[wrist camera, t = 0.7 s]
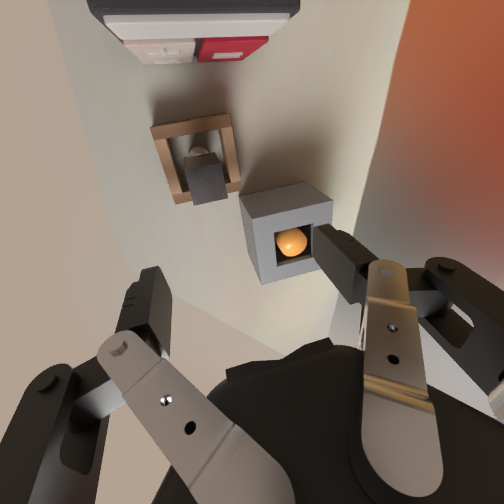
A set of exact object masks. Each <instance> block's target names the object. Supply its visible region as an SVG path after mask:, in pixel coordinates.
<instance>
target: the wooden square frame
mask: <svg viewBox="0 0 504 504" xmlns="http://www.w3.org/2000/svg"><path fill="white" fill-rule="evenodd" d="M216 129H218V130H219V135H220V140H221V146H222V151H223V156H224V161H225V166H226V172H227V177H224V181H225V186H226V191H227V193H231V192H236V191H240V190H242V187H241V180H240V174H239V168H238V162H237V156H236V150H235V143H234V137H233V131H232V125H231V119H230V114H228V113H223V114H217V115H211V116H205V117H200V118H194V119H188V120H182V121H176V122H171V123H165V124H159V125H153V126H152V127H150V130H151V133H152V136H153V139H154V142H155V145H156V148H157V151H158V154H159V157H160V160H161V163H162V166H163V169H164V172H165V175H166V178H167V181H168V184H169V187H170V190H171V193H172V196H173V199H174V202H175V204H180V203H184V202H189V201H193V200H192V197H191V193H190V190H189V187H188V185H183V186H182V183H181V179H180V176H179V173H178V170H177V166H176V163H175V160H174V156H173V153H172V150H171V146H170V143H169V140H168V138H171V137H177V136H182V135H188V134H194V133H199V132H205V131H210V130H216Z"/></svg>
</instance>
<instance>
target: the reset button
mask: <svg viewBox="0 0 504 504" xmlns="http://www.w3.org/2000/svg"><path fill="white" fill-rule="evenodd" d="M274 241H275V242H276V244H277V245H278V247H279V248H280V250H281V251H282V253H283V254H284V255H286V256H296V255H298V254H300V253H301V252H302V251H303V250H304V249H305V247H306V245H307V238H306V236H305V235H304V234H303V233H302V232H301V231H300V229H299V228H298V227H295V228H291V229H287V230H283V231H279V232H275V233H274Z"/></svg>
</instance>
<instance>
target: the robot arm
mask: <svg viewBox="0 0 504 504" xmlns="http://www.w3.org/2000/svg"><path fill="white" fill-rule="evenodd" d="M313 256H314V259H315V261H316V263H317V264H318V265H319V266H320V268H321V269H322V270H323V271H324V273H325V274H326V275H327V276H328V278H329V279H330V280H331V281H332V283H333V284H334V285H335V287H336V288H337V289H338V290H339V292H340V293H341V294H342V295H343V297H344V298H345V299H346V300H347V302H348V303H349V304H350V305H351V304H354V303H357V302H359V303H360V304H361V311H360V323H359V334H358V344H357V348H353V347H350V346H345V345H333V343H332V342H331V340H330V338H329V337H328V338H325V339H322V340H318V341H315V342H312V343H309V344H306V345H303V346H302V347H300V348H299V349H297V350H296V351H294V352H292V353H291V354H289V355H288V356H286V357H284V358H283V359H280V360H267V361H251V362H248V363H245V364H242V365H238V366H235V367H232V368H229V369H226V377H227V378H226V379H225V380H223V381H222V382H221V383H219V384H218V385H217V386H216V387H215V388H214V389H213V390H212V391H211V392H210V393H209V395H208V396H207V397H205V396H204V395H203V394H202V393H201V392H200V391H199V390H198V389H197V388H196V387H195V386H194V385H193V384H192V383H190V382H189V381H188V380H187V379H186V378H185V377H184V376H183V375H182V374H181V373H180V372H179V371H178V370H177V369H176V368H175V367H174V366H173V365H171V363H169V362H168V361H167V360H166V359H167V358H169V357H170V338H171V336H170V335H171V315H172V294H171V291H170V288H169V286H168V284H167V281H166V279H165V277H164V275H163V273H162V271H161V269H160V267H159V266H155V267H151V268H147V269H143V270H142V271H141V274H140V279H139V281H137V282H134V283H133V284H132V285H131V286H130V288H129V289H128V290H127V292H126V295H125V299H124V302H123V306H122V309H121V313H120V316H119V320H118V324H117V327H116V331H115V334H114V335H112V336H111V337H109V338H108V339H107V340H106V341H105V342H104V343H103V344H102V345H101V347H100V348H99V350H98V353H97V356H96V357H94V358H92V359H90V360H88V361H86V362H85V363H83V364H81V365H79V366H77V367H76V368H74V369H72V368H71V367H70V366H69V365H67V364H57V365H54V366H51V367H49V368H48V369H46V370H44V371H43V372H42V373H40V374H39V375H38V376H37V377H36V378H35V379H34V380H33V381H32V382H31V383H30V384H29V385H28V387H27V389H26V390H25V392H24V394H23V397H22V399H21V400H20V403H19V405H18V407H17V409H16V411H15V413H14V415H13V417H12V420H11V422H10V424H9V426H8V428H7V430H6V432H5V434H4V437H3V439H2V441H1V443H0V504H95V499H96V493H97V487H98V481H99V475H100V470H101V463H102V457H103V452H104V446H105V440H106V434H107V428H108V423H109V417H110V413H112V412H113V411H115V410H116V409H118V408H119V407H121V406H123V405H124V404H126V403H127V404H128V406H129V407H130V408H131V410H132V411H133V412H134V414H135V415H136V416H137V418H138V419H139V421H140V422H141V423H142V425H143V426H144V428H145V429H146V430H147V432H148V433H149V434H150V436H151V437H152V438H153V440H154V441H155V443H156V444H157V445H158V447H159V448H160V449H161V451H162V452H163V453H164V455H165V456H166V458H167V459H168V460H169V462H170V463H171V466H170V468H169V470H168V472H167V474H166V476H165V478H164V480H163V482H162V484H161V486H160V488H159V490H158V492H157V494H156V496H155V498H154V500H153V501H152V503H151V504H504V291H502V290H501V289H499V288H498V287H496V286H495V285H493V284H492V283H490V282H489V281H487V280H486V279H484V278H483V277H481V276H480V275H478V274H477V273H475V272H474V271H472V270H471V269H469V268H468V267H466V266H465V265H463V264H462V263H460V262H458V261H456V260H453V259H449V258H445V257H434V258H430V259H428V260H427V261H426V263H425V266H424V268H404V267H403V266H402V265H401V264H399V263H397V262H395V261H392V260H387V259H379V258H377V257H376V256H375V255H374V254H372V252H370V251H369V250H368V249H367V248H366V247H364V246H363V245H361V243H360V242H358V241H357V240H356V239H355V238H354V237H352V236H351V235H350V234H349V233H346V232H344V231H341V230H336V229H335V228H334V227H333V226H331V225H330V224H329V223H327V224H323V225H319V226H315V227H314V228H313ZM453 303H454V304H455V305H456V306H457V307H458V308H460V309H461V310H462V311H463V312H465V314H467V315H468V316H469V317H470V318H471V320H472V322H473V324H474V328H473V327H472V326H471V325H470V324H469V323H467V322H466V321H465V320H464V319H463V318H462V317H461V316H459V315H458V314H457V313H456V312H455V311H454V310H452V309H451V307H452V305H453ZM418 322H419V323H420V325H421V326H422V327H423V328H424V329H425V330H426V331H427V332H428V333H429V334H430V335H431V336H432V337H433V338H434V339H435V340H436V342H437V343H438V344H439V345H440V346H441V347H442V348H443V349H444V350H445V351H446V352H447V353H448V354H449V355H450V356H451V357H452V359H454V361H456V363H457V364H458V365H459V366H460V367H461V368H462V369H463V370H464V371H465V372H466V373H467V375H469V377H470V378H471V379H472V380H473V381H474V382H475V383H476V384H477V385H478V386H479V387H480V388H481V389H482V390H483V391H484V392H485V394H486V395H487V396H488V401H489V405H490V407H491V409H492V411H493V412H494V414H495V415H494V418H492V417H490V416H488V415H486V414H484V413H482V412H480V411H478V410H476V409H474V408H473V407H470V406H469V405H467V404H465V403H463V402H461V401H459V400H457V399H455V398H453V397H451V396H449V395H447V394H446V393H444V392H442V391H440V390H438V389H436V388H434V387H432V386H430V385H428V384H426V377H425V369H424V361H423V354H422V347H421V339H420V331H419V325H418Z"/></svg>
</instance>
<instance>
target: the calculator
mask: <svg viewBox="0 0 504 504" xmlns="http://www.w3.org/2000/svg"><path fill="white" fill-rule="evenodd" d="M87 3H88V7H89V10H90V12H91V13H92V14H93V15H94V16H95V17H96V18H97V19H98V20H99V21H100V22H101V23H102V24H103V25H104V26H105V27H106V28H107V29H108V30H109V31H110V32H111V33H112V34H113V35H114V36H115V37H117V38H118V39H119V40H120V41H121V42H122V43H123V44H124V46H125V47H126V48H127V49H128V50H129V51H130V52H131V53H132V54H133V55H134V56H136V57H137V58H138V59H139V60H140V61H141V62H142V63H143V64H144V65H154V64H176V63H191V62H192V60H193V56H197V60H198V62H220V61H240V60H243V59H245V58H246V57H247V56H249V55H250V54H251V53H253V52H254V51H256V50H257V49H258V48H260V47H261V46H263V45H264V44H265V43H267V42H268V40H269V39H268V36H270V35H273V34H274V33H275V32H277V31H278V30H279V29H281V28H282V27H283V26H285V25H286V24H287V23H289V21H290V18H291V17H293V16H294V15H295V14H296V13H298V12H299V10H300V0H87Z"/></svg>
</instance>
